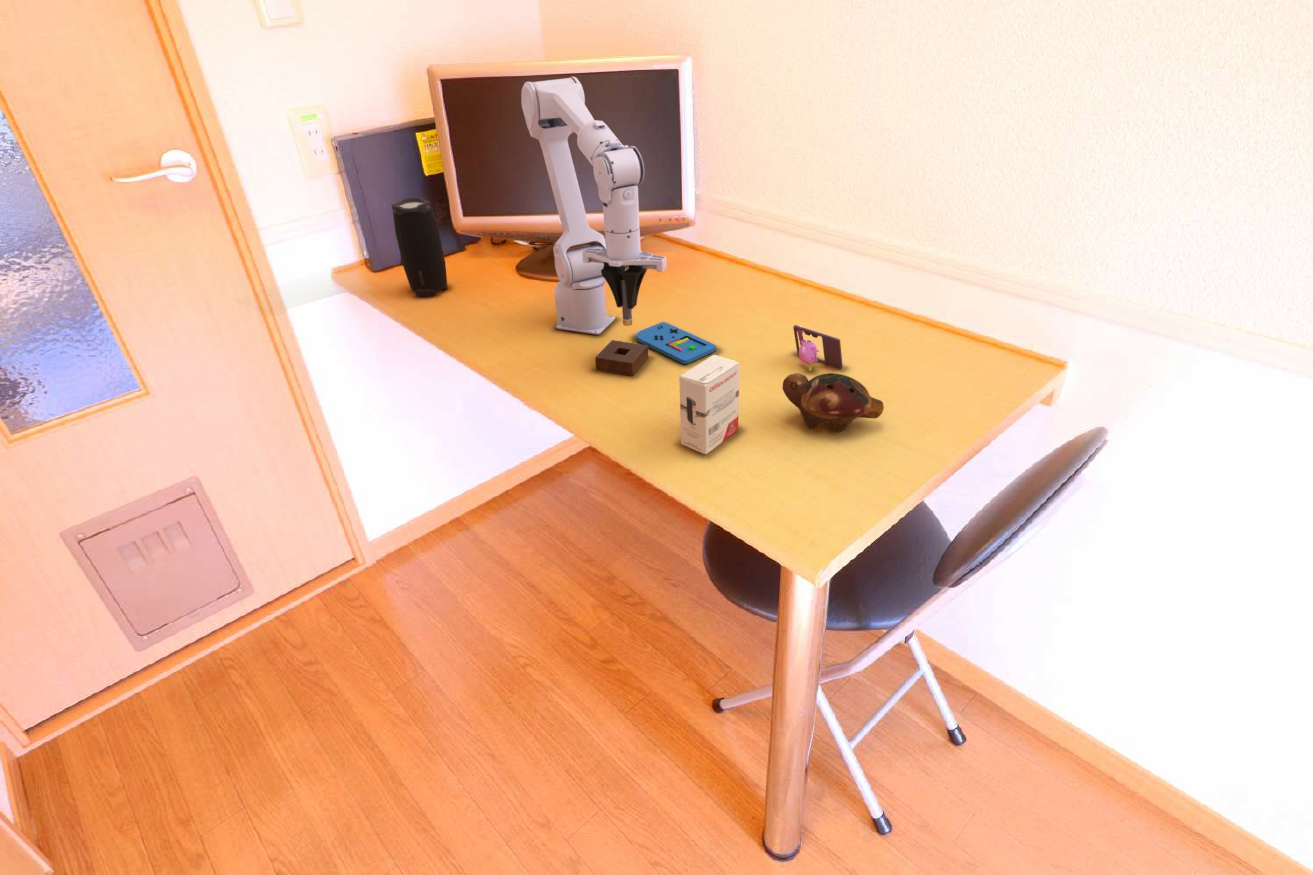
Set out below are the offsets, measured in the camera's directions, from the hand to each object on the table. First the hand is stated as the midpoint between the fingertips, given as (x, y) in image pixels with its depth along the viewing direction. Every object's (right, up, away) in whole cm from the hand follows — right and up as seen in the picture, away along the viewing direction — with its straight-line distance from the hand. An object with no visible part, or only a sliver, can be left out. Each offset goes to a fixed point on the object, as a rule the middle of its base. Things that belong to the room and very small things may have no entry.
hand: (626, 305), depth 123 cm
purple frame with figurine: (+33, -10, +2) cm, 34 cm away
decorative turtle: (+32, -20, -13) cm, 40 cm away
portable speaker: (-45, +10, +36) cm, 59 cm away
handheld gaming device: (+8, -5, +10) cm, 14 cm away
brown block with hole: (-1, -10, +4) cm, 11 cm away
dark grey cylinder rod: (0, -3, +2) cm, 3 cm away
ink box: (+13, -23, -16) cm, 31 cm away
